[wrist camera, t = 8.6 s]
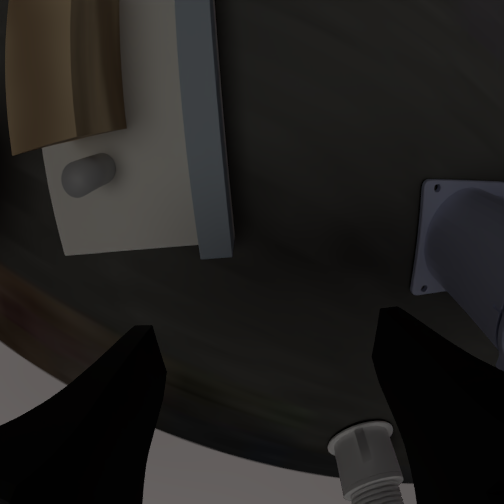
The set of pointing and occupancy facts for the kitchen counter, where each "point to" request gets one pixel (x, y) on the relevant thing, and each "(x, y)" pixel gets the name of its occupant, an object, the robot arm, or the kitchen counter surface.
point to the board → (153, 144)
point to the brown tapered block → (62, 71)
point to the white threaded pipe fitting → (367, 464)
